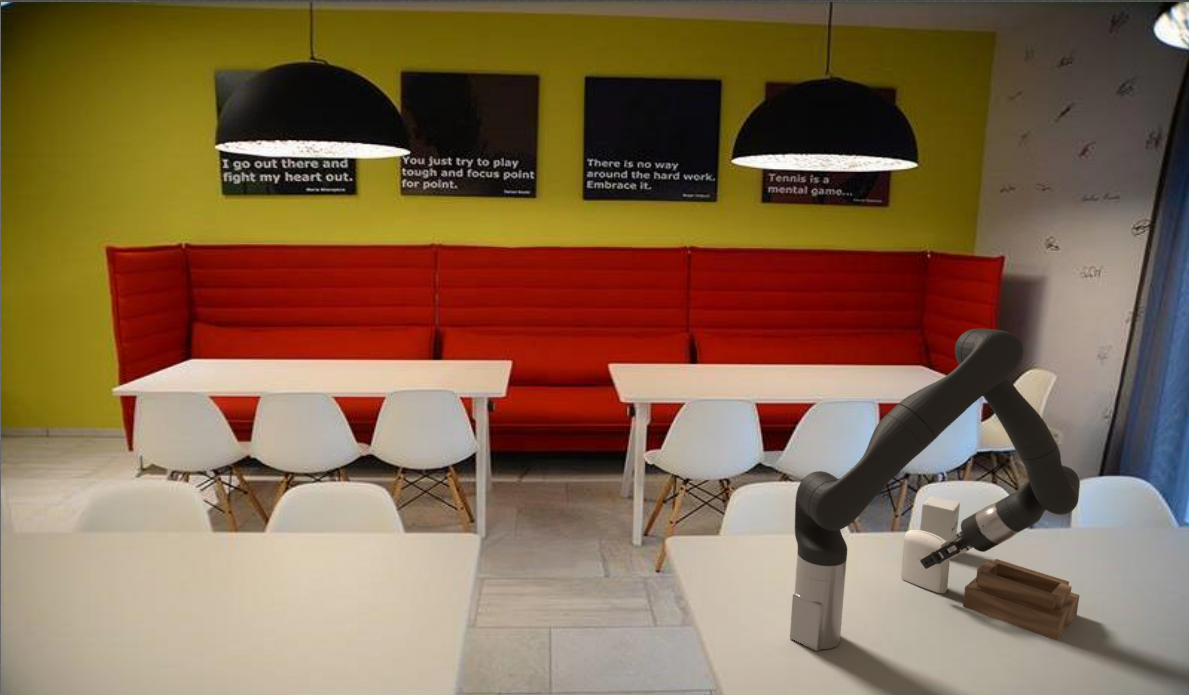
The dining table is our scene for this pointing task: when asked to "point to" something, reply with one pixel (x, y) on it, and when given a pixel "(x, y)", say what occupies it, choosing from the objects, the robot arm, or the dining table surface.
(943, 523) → the supplement box
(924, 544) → the photo printer
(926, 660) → the dining table surface
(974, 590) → the wooden holder
